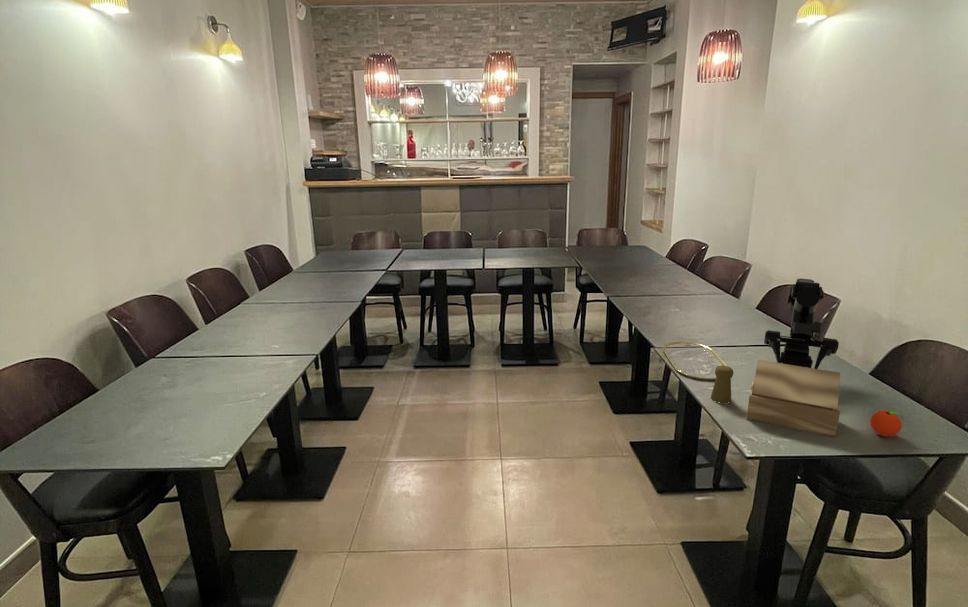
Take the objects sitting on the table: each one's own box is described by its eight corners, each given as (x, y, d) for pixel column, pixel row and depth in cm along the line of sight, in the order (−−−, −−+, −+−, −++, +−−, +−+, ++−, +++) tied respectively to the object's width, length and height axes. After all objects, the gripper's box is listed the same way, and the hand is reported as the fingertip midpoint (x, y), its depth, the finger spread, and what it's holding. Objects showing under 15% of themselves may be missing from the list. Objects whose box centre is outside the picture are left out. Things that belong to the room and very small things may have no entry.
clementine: (889, 427, 150) (894, 404, 148) (909, 440, 144) (915, 417, 142) (861, 428, 150) (866, 405, 148) (880, 441, 143) (885, 417, 141)
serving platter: (704, 345, 214) (705, 341, 214) (737, 382, 181) (738, 378, 180) (657, 345, 216) (657, 341, 215) (681, 381, 182) (681, 377, 182)
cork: (713, 393, 172) (717, 361, 169) (733, 398, 169) (737, 366, 166) (707, 400, 168) (711, 367, 165) (728, 405, 164) (732, 372, 161)
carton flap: (757, 360, 159) (757, 359, 158) (840, 373, 149) (840, 372, 148) (752, 393, 154) (752, 393, 153) (837, 409, 144) (837, 408, 144)
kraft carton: (749, 402, 166) (752, 379, 164) (832, 418, 156) (837, 394, 154) (746, 418, 156) (749, 395, 154) (835, 437, 146) (840, 412, 144)
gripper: (769, 305, 159) (762, 355, 154) (844, 314, 150) (838, 366, 145) (767, 319, 168) (760, 366, 164) (837, 328, 159) (832, 378, 155)
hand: (796, 369), depth 157 cm, fingers open, 9 cm apart
